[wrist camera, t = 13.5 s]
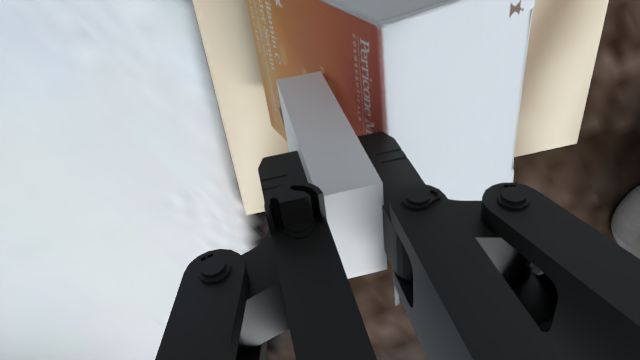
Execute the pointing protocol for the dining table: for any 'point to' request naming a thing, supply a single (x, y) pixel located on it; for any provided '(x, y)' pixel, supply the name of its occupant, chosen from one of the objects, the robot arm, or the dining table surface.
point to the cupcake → (628, 222)
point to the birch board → (536, 101)
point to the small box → (410, 76)
